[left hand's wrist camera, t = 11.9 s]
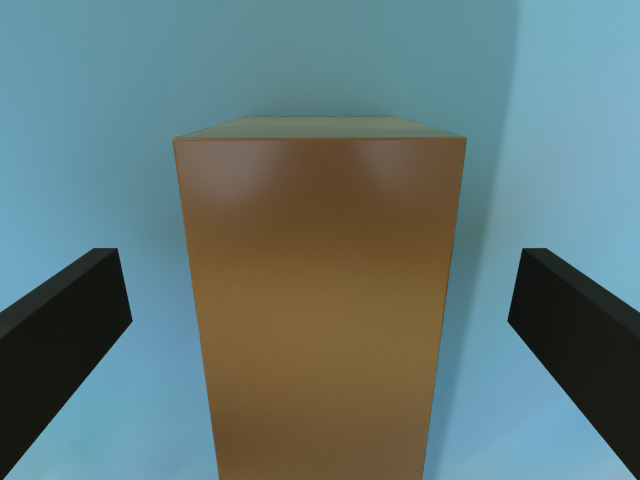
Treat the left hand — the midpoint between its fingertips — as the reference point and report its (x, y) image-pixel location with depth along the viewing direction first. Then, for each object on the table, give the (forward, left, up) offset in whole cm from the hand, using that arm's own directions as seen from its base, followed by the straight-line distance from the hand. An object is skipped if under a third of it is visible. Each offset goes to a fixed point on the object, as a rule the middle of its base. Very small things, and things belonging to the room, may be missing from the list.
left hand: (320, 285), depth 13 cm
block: (+16, -28, -4) cm, 32 cm away
